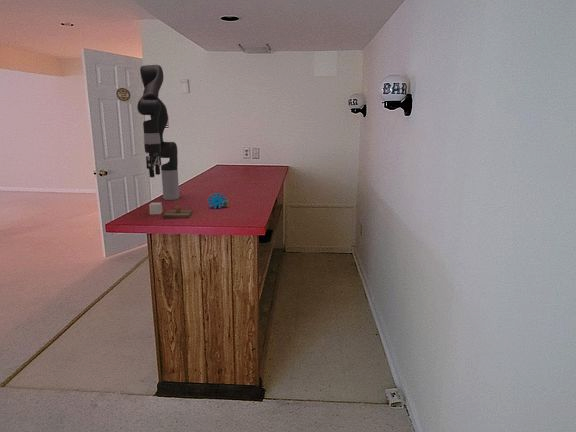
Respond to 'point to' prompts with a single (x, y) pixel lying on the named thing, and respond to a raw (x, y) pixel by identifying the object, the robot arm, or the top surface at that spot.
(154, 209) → the pale grey cube block
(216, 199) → the blue piece
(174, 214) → the board
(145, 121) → the robot arm
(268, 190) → the top surface
